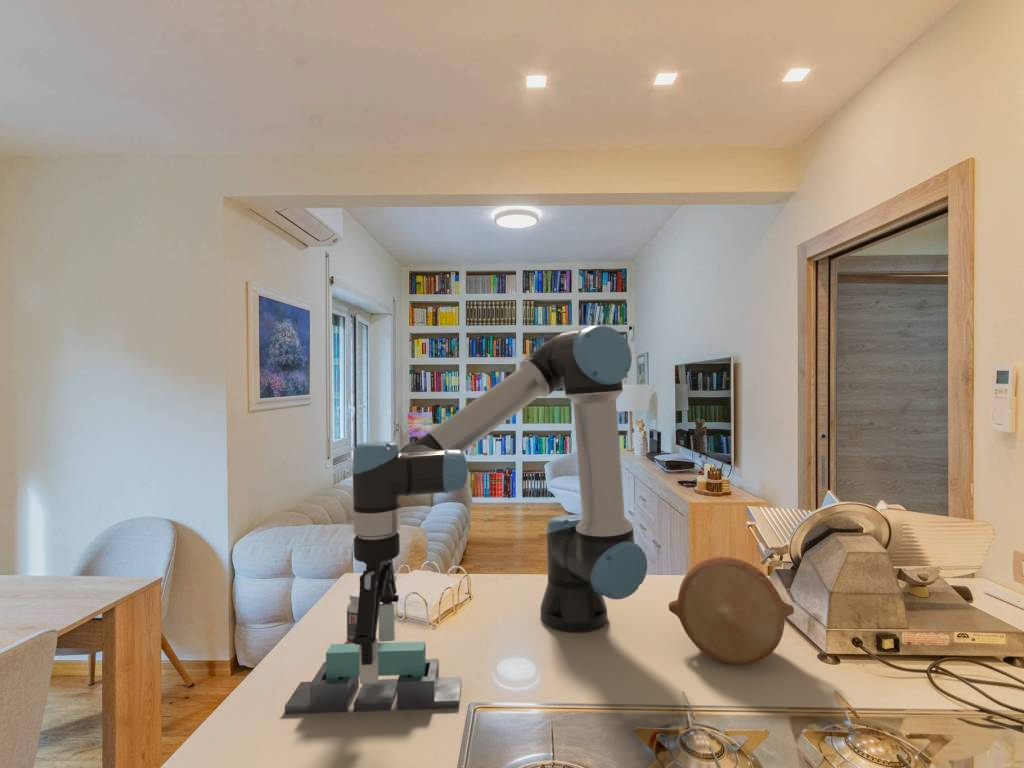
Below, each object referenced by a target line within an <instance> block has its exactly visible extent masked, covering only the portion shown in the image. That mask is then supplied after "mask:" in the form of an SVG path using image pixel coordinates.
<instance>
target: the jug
mask: <svg viewBox="0 0 1024 768" xmlns="http://www.w3.org/2000/svg"><path fill="white" fill-rule="evenodd" d="M668 611H669V612H671V614H674V615H675V616H676V617H677V618H678V619H679V621H680V624H681V626H682V628H683V630H684V631H685V633H686V635H687V636H688V638H689V639H690V641H691V642H692V644H693V645H695V646H696V647H697V649H698V650H700V651H701V652H702V653H703V654H705V655H706V656H708V657H709V658H711V659H713V660H715V661H717V662H720V663H724V664H729V665H733V666H735V665H736V666H747V665H752V664H755V663H759V662H760V661H763V660H764V659H765V658H766V657H768V656H770V655H771V654H772V653H773V652H774V651H775V650H776V648H777V647H778V646H779V644H780V642H781V640H782V638H783V634H784V630H785V629H784V628H785V624H786V623H785V622H786V621H785V620H786V618H787V617H789V616H791V615H793V614H794V613H795V609H794V607H793V605H791V604H788V603H786V602H785V601H784V600H783V599H782V597H781V596H780V594H779V592H778V590H777V588H776V587H775V586H774V585H773V582H772V581H771V579H770V578H769V577H768V576H767V575H766V574H765V573H764V572H763V571H761V570H760V569H759V568H757V567H756V566H754V565H753V564H751V563H749V562H747V561H744V560H742V559H739V558H736V557H735V558H734V557H728V556H717V557H712V558H708V559H704V560H702V561H700V562H699V563H696V565H694V566H692V568H690V569H689V570H688V572H687V573H686V575H685V576H684V578H683V579H682V582H681V584H680V587H679V590H678V596H677V599H676V600H673V601H670V602H669V603H668Z"/></svg>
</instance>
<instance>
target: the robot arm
mask: <svg viewBox="0 0 1024 768" xmlns="http://www.w3.org/2000/svg"><path fill="white" fill-rule="evenodd" d="M631 350H632V349H631V348H630V345H629V343H628V341H627V339H626V337H624V335H623V334H621V333H620V332H619V331H618V330H616V329H615V328H613V327H610V326H608V325H589V326H585V327H582V328H578V329H574V330H571V331H566V332H562V333H560V334H559V333H558V334H557V335H556V336H554V337H552V338H551V339H549V340H548V341H547V342H545V343H543V344H542V345H541V346H540V347H539V348H537V349H536V350H535V351H534V352H532V353H531V354H529V355H528V356H527V357H526V358H524V359H522V360H521V361H520V363H519V368H517V370H515V371H514V372H512V373H511V374H510V375H507V377H505V378H503V379H502V380H500V381H499V382H498V383H497V384H495V385H494V386H492V387H491V388H489V390H487V391H485V392H484V393H482V394H481V395H480V396H479V397H477V398H476V399H474V400H473V401H471V402H470V403H468V404H467V405H465V406H464V407H463V408H462V409H460V410H459V411H457V412H456V413H455V414H453V415H451V416H450V417H449V418H447V419H446V420H444V421H443V422H442V423H441V424H439V425H438V426H436V427H434V428H433V429H432V430H431V431H429V432H428V433H427V434H425V435H424V436H422V437H420V438H419V439H417V440H416V441H414V442H409V443H407V444H404V445H402V447H400V448H399V445H398V443H396V442H394V441H371V442H369V441H368V442H361V443H359V444H357V445H356V446H355V447H354V450H353V457H352V458H353V463H352V496H353V497H352V498H353V503H352V504H353V514H351V515H350V520H351V521H354V522H353V533H354V534H355V537H354V538H353V557H354V559H355V560H356V561H358V562H360V563H364V564H365V565H366V567H365V570H363V573H362V574H360V576H359V589H360V593H359V604H358V614H357V624H356V635H355V638H353V643H355V645H359V685H360V684H361V685H362V684H367V683H377V682H378V680H379V676H378V643H379V642H395V636H396V635H395V633H396V632H395V629H396V628H395V602H396V603H397V602H399V595H398V594H397V586H396V577H395V572H394V571H395V569H394V563H393V560H394V559H395V558H398V556H399V554H400V552H401V551H400V549H401V548H400V547H401V546H400V545H401V544H400V534H399V532H398V531H400V529H401V528H400V527H401V526H400V525H401V524H400V497H408V496H416V495H417V496H419V495H428V494H429V495H431V494H441V493H443V494H444V493H445V494H448V493H451V492H456V491H462V490H463V489H464V488H465V486H466V485H467V481H468V464H467V457H466V456H465V454H464V452H466V451H467V450H469V449H470V448H471V447H472V446H474V445H475V444H477V443H478V442H479V441H481V440H482V439H483V438H485V437H486V436H488V435H489V434H490V433H491V432H493V431H494V430H495V429H497V428H499V426H501V425H502V424H503V423H505V422H506V421H508V420H509V419H510V418H512V417H513V416H515V415H516V414H517V413H518V412H520V411H521V410H523V409H524V408H526V406H528V405H529V404H531V403H532V402H533V401H535V400H536V399H537V398H539V397H541V398H542V397H543V398H546V397H548V396H549V395H551V394H552V393H554V392H555V391H557V390H560V389H562V388H564V394H565V397H566V398H568V400H570V401H571V402H572V404H573V415H574V429H575V439H576V452H577V467H578V480H579V490H580V492H579V493H580V506H581V514H565V515H558V516H554V517H552V518H550V519H549V520H548V522H547V529H546V539H547V542H546V543H547V544H546V548H547V549H546V551H547V556H546V557H547V585H546V588H545V591H544V594H543V598H542V601H541V604H540V619H541V621H542V623H543V624H544V625H546V626H548V627H550V628H552V629H555V630H558V631H563V632H568V633H585V632H591V631H595V630H598V629H600V628H602V627H604V626H605V625H606V624H607V623H608V608H607V604H606V602H605V599H604V597H606V598H608V599H610V600H623V599H625V598H628V597H630V596H631V595H633V594H635V593H636V592H637V590H638V589H639V587H640V585H642V584H643V582H644V580H645V579H646V576H647V572H648V558H647V555H646V553H645V551H644V550H643V549H642V548H641V546H640V545H639V544H638V543H635V533H634V525H633V523H632V522H631V521H630V520H629V519H627V518H626V517H625V515H626V514H625V513H626V512H625V503H624V501H625V500H624V492H623V491H624V490H623V489H624V488H623V478H622V476H623V475H622V462H621V452H620V450H621V449H620V437H619V425H618V412H617V400H618V398H619V397H620V395H621V394H622V393H623V392H624V390H623V380H624V379H625V378H626V377H627V375H628V372H629V371H630V370H631V366H632V362H633V361H632V356H633V355H632V351H631ZM367 589H369V590H367ZM377 629H378V638H377Z"/></svg>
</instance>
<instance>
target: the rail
mask: <svg viewBox="0 0 1024 768" xmlns="http://www.w3.org/2000/svg"><path fill="white" fill-rule="evenodd" d="M439 662H440V660H439V658H428V659H427V658H426V677H411V675H398V678H389V679H388V678H385V679H378V682H377V683H367V684H361V687H360V682H359V676H358V677H343V678H342V679H336V680H326V661H324V662H323V663H322V665H321V666H320V668H319V670H318V671H317V673H316V674H315V676H313V677H314V678H313V679H312V681H300V682H299V684H298V686H297V687H296V689H295V690H294V692H293V693H292V695H291V696H290V698H289V699H288V700H287V702H286V703H285V705H284V714H285V715H286V714H287V715H289V714H291V715H292V714H314V713H315V714H316V713H317V714H318V713H320V714H321V713H347V712H348V711H349V709H350V707H351V704H352V703H353V712H377V711H378V712H379V711H380V712H381V711H392V709H393V705H394V702H395V699H396V701H397V702H396V707H397V708H396V710H397V711H408V710H410V711H411V710H413V711H414V710H438V709H440V710H441V709H460V703H461V702H460V701H461V693H462V692H461V691H462V684H463V683H462V681H463V680H462V676H453V677H452V676H451V677H447V676H446V677H440V670H439V669H440V663H439ZM359 687H360V688H359ZM358 689H359V691H358ZM356 694H357V696H356ZM355 696H356V698H355ZM354 699H355V700H354ZM353 700H354V702H353Z"/></svg>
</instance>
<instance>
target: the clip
mask: <svg viewBox="0 0 1024 768" xmlns="http://www.w3.org/2000/svg"><path fill="white" fill-rule="evenodd" d="M426 650H427V649H426V641H404V642H403V641H400V642H398V641H397V642H395V641H393V642H378V677H379V676H380V677H384V676H385V677H386V676H387V677H388V676H399V675H411V677H426V659H427V657H426ZM325 662H326V680H336V679H342V678H343V677H358V676H359V645H355V644H349V643H331V645H330V646H329V648H328V649H327V651H326V652H325Z"/></svg>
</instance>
